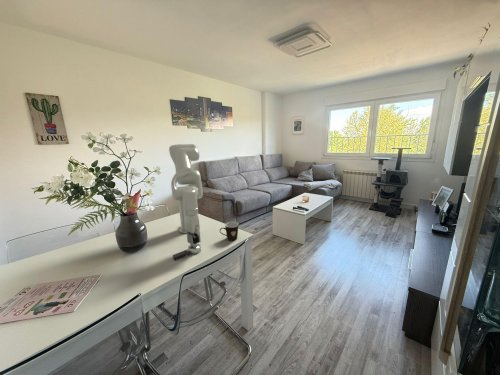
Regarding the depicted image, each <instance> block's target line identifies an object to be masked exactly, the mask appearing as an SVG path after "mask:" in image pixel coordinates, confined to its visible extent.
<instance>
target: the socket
mask: <svg viewBox="0 0 500 375" xmlns="http://www.w3.org/2000/svg"><path fill="white" fill-rule="evenodd" d="M195 231H196V230H195ZM195 234H197V232H196V233H195ZM193 237H194V236H193V233H190V232H187V233H186V239H187V240H186V241H187V243H188V244H189V245H194V242H193ZM201 242H202V241H201V233H200V234H199V243H201ZM196 244H198V243H196Z"/></svg>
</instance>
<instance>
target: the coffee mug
mask: <svg viewBox="0 0 500 375" xmlns="http://www.w3.org/2000/svg"><path fill="white" fill-rule="evenodd" d="M222 229H224V231H225V232H226V234H225V233H222V232H221V230H222ZM219 233H220V234H221V235H223V236H226V239H227V241H229V242H234V241H235V242H236V241H237V240H238V236H239V235H238V234H239V222H237V221H228V222H225V224H224V227H220V228H219Z"/></svg>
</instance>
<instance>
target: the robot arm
mask: <svg viewBox="0 0 500 375" xmlns="http://www.w3.org/2000/svg"><path fill="white" fill-rule="evenodd" d="M168 149H169V150H168V152H169V156H170V159H171V160H172V162H173V163H174V168H175V169H174V170H175V174H174V175H173V177H172V178H171V184H170V186H171V187H170V188H171V196H172V198H173V200H175V201H177V203H178V209H179V210H178V211H179V219H180V220H179V221H180V227H179V229H178V231H179V232H180V234H187V232H190V233H193V236H194V237H193V242H194V244H196V243H197V244H200V242H199V234H200V235H201V232H200V231H201V224H200V219H199V205H198V204H199V203H198V200H199V199H202V198H203V196H204V191H203V183H202V178H201V177H202V176H201V173H200V172H199V170H197V169H192V163H191V162H198V161H199V159H200V151H199V149H198V147H197V146H196V145H195V144H194V143H190V144H189V143H188V144H187V143H186V144H182V143H181V144H178V143H177V144H172V145H170V146H169V148H168ZM177 184H178V185H180V186H177ZM184 185H185V186H184ZM186 185H188V186H186ZM195 230H196V231H195ZM196 232H197V234H195V233H196Z"/></svg>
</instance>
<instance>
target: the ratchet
mask: <svg viewBox="0 0 500 375" xmlns="http://www.w3.org/2000/svg"><path fill="white" fill-rule="evenodd" d="M201 248H202V246H201V244H200V243H197V244H194V245H191V244H189V245H188V247H187V249H185V250H181V251H180V252H178V253H174V254H172V259H173V260H174V262H175V261H178V260H180V259H181V260H182V258H185V257H188V256H191V255H193V256H194V255H198V254H199V253H201V251H202V249H201Z"/></svg>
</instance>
